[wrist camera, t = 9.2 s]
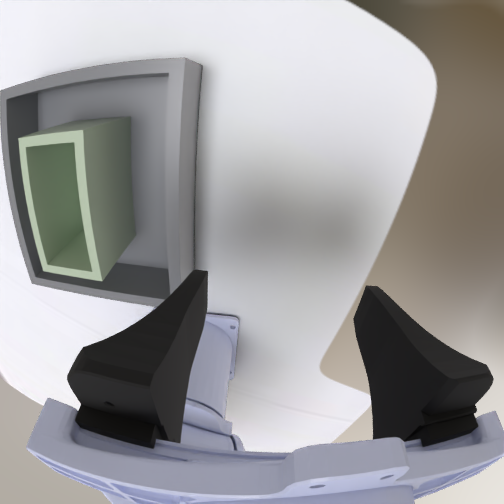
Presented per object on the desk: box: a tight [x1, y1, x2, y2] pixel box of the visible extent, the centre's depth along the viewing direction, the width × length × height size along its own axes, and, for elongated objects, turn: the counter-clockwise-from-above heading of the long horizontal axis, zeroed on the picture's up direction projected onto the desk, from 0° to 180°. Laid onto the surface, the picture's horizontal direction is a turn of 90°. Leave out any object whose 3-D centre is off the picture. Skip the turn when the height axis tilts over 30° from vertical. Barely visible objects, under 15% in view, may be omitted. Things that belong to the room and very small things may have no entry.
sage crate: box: [18, 117, 136, 281], centre depth 17 cm, size 9×5×6 cm, turn 175°
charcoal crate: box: [0, 58, 202, 307], centre depth 18 cm, size 16×14×4 cm
